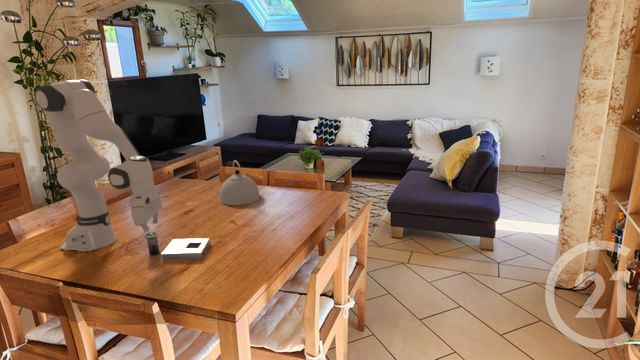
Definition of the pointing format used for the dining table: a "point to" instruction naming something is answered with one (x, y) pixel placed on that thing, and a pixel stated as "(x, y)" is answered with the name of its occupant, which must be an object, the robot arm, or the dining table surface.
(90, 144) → the robot arm
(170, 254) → the jig
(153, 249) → the flashlight
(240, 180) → the grey dome pendant lamp
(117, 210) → the dining table surface
